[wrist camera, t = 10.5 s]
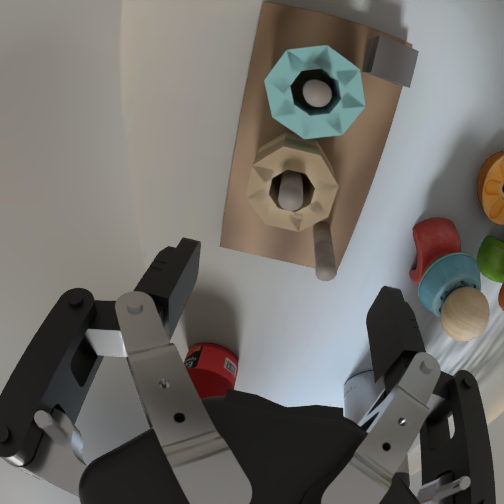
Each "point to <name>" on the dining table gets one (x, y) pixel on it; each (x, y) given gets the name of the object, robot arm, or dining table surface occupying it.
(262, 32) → the gear board
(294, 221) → the beech gear
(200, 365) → the canned food
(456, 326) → the colourful stacking toy
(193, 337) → the dining table surface
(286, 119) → the teal gear
